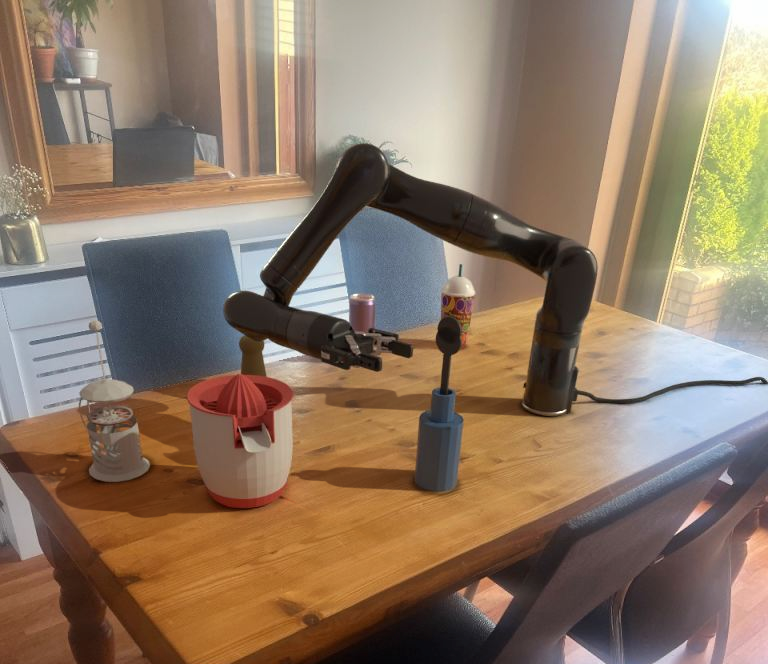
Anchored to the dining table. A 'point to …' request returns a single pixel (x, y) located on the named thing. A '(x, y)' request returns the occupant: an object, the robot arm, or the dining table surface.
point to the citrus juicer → (242, 437)
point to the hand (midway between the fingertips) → (396, 358)
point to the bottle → (439, 444)
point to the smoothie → (458, 302)
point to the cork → (252, 357)
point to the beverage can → (362, 312)
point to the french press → (112, 429)
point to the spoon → (448, 346)
